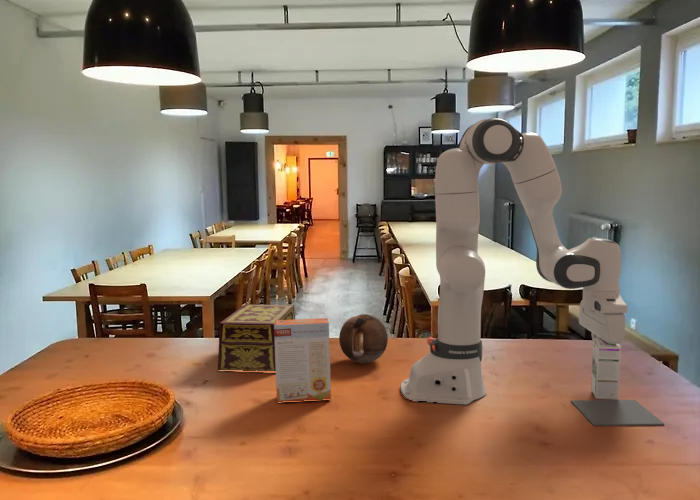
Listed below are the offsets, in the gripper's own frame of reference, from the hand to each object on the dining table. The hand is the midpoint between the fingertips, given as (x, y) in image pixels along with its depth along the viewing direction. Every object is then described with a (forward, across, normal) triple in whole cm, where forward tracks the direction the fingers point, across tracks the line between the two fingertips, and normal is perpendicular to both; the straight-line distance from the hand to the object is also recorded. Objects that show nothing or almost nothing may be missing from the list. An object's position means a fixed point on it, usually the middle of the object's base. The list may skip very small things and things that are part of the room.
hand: (598, 350), depth 152 cm
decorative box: (+11, -30, -95) cm, 100 cm away
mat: (+11, +16, -2) cm, 19 cm away
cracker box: (+11, +4, -78) cm, 79 cm away
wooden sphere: (+11, -24, -62) cm, 68 cm away
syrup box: (+11, +4, 0) cm, 11 cm away
